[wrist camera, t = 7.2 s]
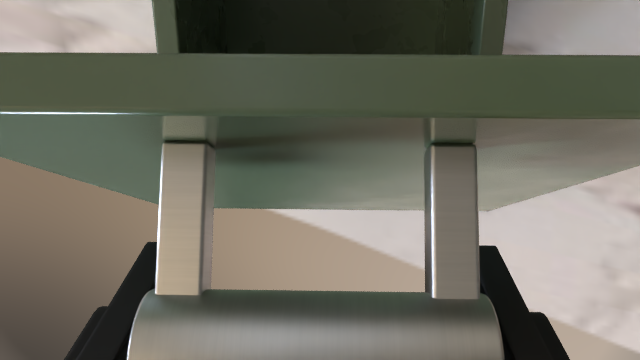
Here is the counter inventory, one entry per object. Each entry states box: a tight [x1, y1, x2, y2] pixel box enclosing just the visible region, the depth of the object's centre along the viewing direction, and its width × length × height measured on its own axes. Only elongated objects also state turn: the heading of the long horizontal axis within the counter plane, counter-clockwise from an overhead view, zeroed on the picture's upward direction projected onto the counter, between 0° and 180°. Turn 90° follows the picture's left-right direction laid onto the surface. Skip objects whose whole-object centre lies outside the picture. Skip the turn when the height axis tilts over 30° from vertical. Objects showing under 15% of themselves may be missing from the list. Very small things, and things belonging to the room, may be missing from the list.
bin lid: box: [0, 52, 640, 360], centre depth 14 cm, size 14×12×5 cm
